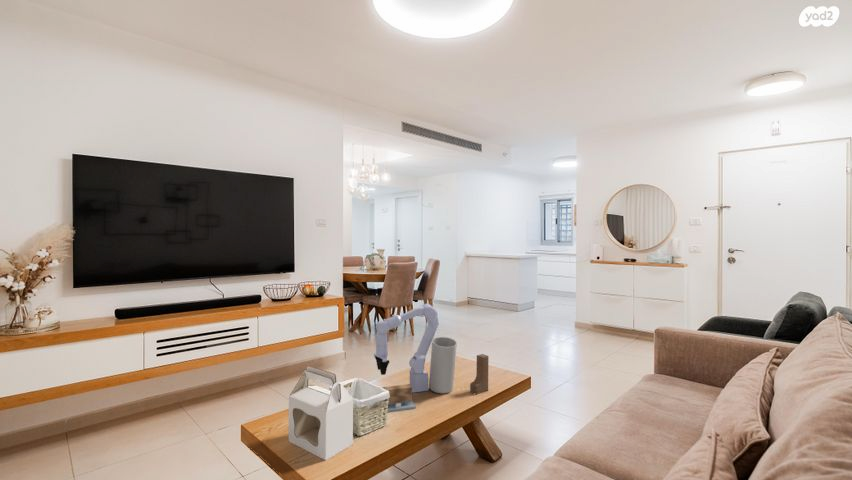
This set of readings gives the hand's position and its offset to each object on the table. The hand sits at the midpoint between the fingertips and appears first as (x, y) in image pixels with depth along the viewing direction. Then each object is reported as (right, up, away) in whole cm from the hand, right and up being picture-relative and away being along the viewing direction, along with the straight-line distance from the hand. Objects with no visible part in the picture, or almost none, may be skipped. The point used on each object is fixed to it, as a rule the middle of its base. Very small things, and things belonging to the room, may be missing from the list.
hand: (381, 371), depth 197 cm
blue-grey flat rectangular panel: (+9, -10, -17) cm, 22 cm away
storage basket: (-6, -11, -33) cm, 35 cm away
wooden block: (+50, -11, +2) cm, 51 cm away
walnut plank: (+9, -7, -17) cm, 21 cm away
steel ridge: (+9, -10, -17) cm, 22 cm away
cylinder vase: (+30, -10, +4) cm, 32 cm away
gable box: (-18, -11, -49) cm, 54 cm away
